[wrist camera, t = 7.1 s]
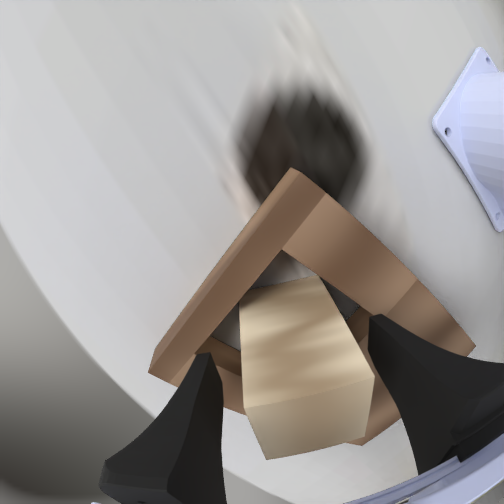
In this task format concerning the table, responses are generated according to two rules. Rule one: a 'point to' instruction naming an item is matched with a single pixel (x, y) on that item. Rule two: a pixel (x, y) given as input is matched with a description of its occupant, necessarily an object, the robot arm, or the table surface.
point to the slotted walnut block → (323, 264)
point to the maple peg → (301, 369)
